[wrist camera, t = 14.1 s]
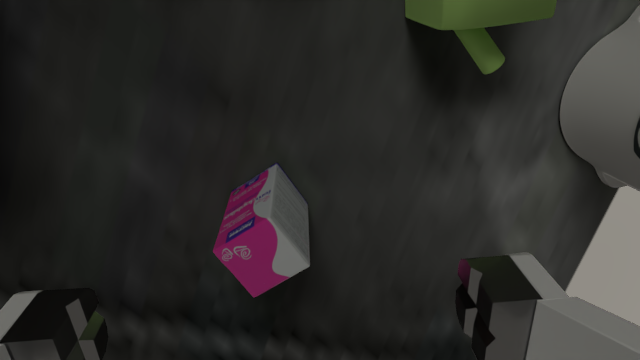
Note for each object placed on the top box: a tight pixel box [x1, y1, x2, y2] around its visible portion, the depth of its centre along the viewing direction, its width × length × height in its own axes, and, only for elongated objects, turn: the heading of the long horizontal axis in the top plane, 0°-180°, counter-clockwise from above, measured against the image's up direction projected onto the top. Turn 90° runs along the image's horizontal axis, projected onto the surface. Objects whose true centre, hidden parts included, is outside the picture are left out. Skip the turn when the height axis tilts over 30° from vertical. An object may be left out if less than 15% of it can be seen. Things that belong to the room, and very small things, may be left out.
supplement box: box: [213, 163, 310, 298], centre depth 41 cm, size 6×6×12 cm
